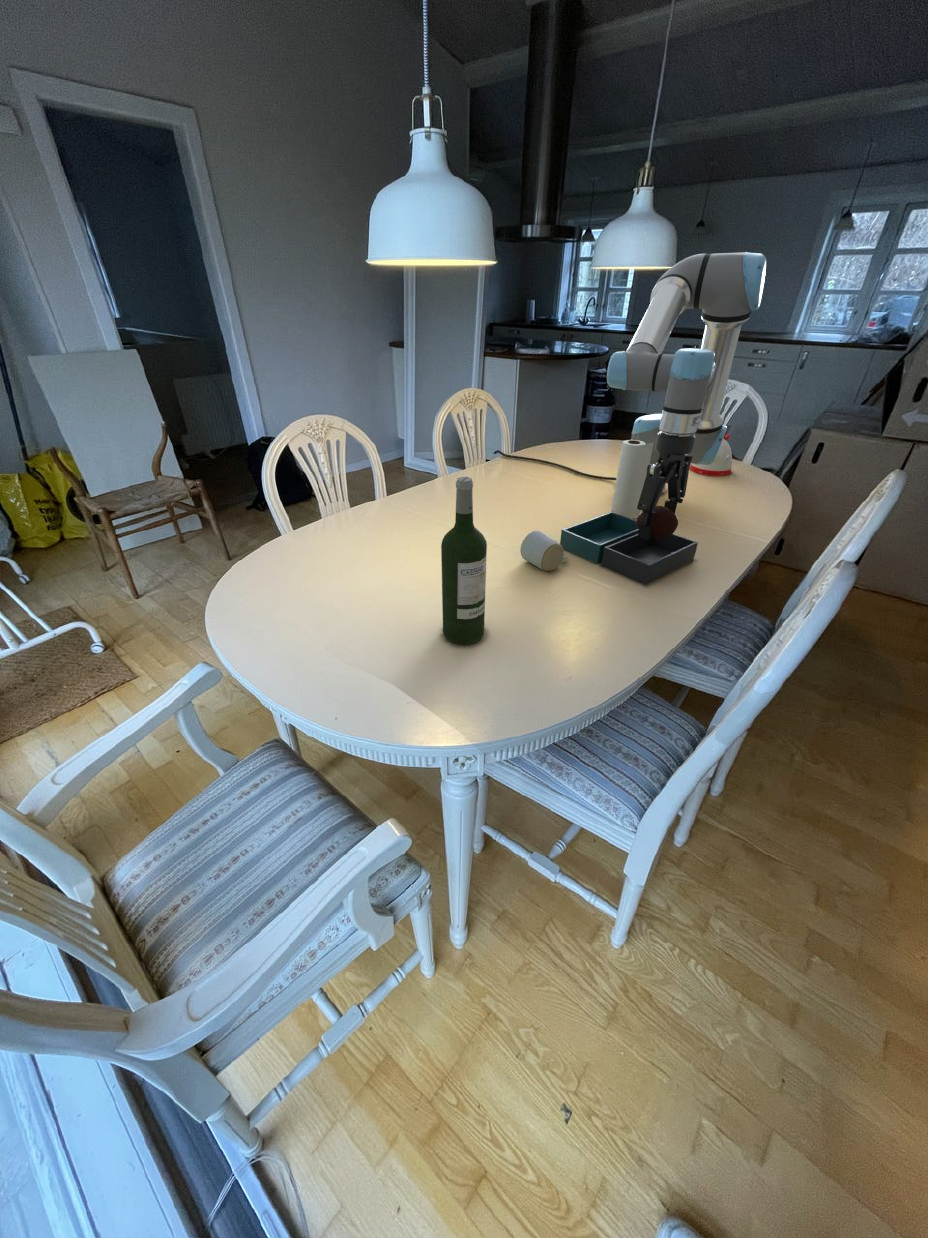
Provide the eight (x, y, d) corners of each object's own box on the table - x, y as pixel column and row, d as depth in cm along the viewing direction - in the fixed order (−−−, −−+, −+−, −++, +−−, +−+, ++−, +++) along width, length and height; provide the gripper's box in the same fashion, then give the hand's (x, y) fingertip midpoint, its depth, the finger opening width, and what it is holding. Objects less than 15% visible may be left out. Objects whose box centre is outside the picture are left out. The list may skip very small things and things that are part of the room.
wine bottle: (470, 650, 93) (472, 490, 76) (434, 637, 96) (430, 481, 80) (491, 630, 98) (498, 476, 82) (457, 618, 102) (457, 468, 86)
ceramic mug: (541, 576, 117) (545, 545, 113) (518, 563, 122) (521, 533, 118) (574, 565, 122) (578, 535, 118) (550, 553, 128) (554, 524, 124)
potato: (673, 547, 115) (682, 515, 111) (631, 541, 118) (638, 509, 114) (674, 533, 121) (682, 503, 117) (634, 528, 124) (640, 498, 120)
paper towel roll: (606, 516, 148) (618, 441, 137) (616, 511, 152) (629, 437, 140) (628, 523, 144) (643, 446, 133) (638, 517, 148) (653, 442, 136)
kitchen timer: (683, 465, 193) (693, 423, 185) (717, 464, 195) (728, 423, 187) (701, 476, 182) (712, 432, 174) (737, 474, 183) (750, 431, 175)
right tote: (601, 565, 122) (604, 547, 119) (650, 544, 132) (654, 526, 130) (644, 585, 114) (649, 565, 111) (693, 560, 124) (698, 542, 122)
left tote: (559, 547, 130) (561, 529, 128) (608, 528, 141) (611, 511, 138) (597, 564, 122) (600, 545, 120) (646, 542, 133) (650, 525, 130)
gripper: (664, 444, 99) (641, 550, 111) (719, 428, 109) (693, 526, 122) (632, 436, 103) (613, 539, 116) (687, 422, 114) (665, 517, 127)
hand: (654, 532), depth 119 cm, fingers closed on potato, 8 cm apart
